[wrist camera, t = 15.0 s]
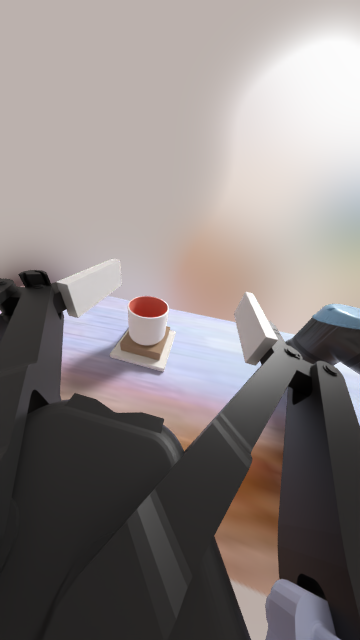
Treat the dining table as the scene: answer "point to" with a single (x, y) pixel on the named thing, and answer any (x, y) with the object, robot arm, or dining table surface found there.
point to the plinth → (142, 359)
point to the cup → (147, 319)
